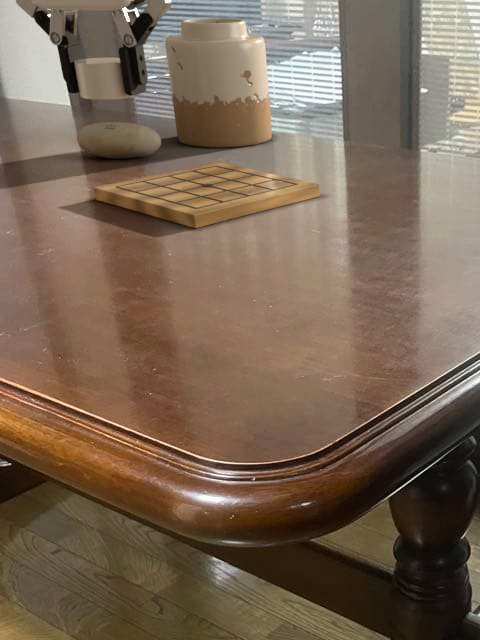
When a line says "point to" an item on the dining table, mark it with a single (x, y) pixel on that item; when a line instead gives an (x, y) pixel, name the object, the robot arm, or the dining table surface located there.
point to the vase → (219, 84)
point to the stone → (118, 140)
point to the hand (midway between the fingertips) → (107, 90)
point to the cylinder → (100, 79)
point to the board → (206, 193)
